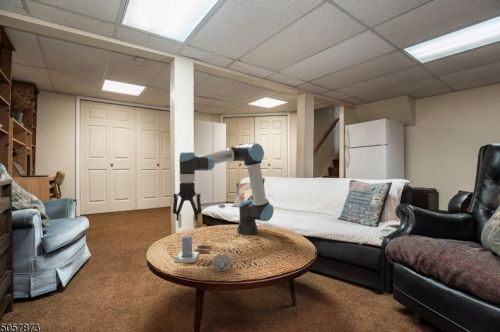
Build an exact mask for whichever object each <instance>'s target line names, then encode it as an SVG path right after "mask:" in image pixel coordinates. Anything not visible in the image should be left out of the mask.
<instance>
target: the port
mask: <svg viewBox="0 0 500 332" xmlns="http://www.w3.org/2000/svg"><path fill="white" fill-rule="evenodd" d="M199 256H200V253H199V252H194V251H192V257H182V251H180V252H179V253H178V254H177V256H175V257H174V259H173V261H174V263H196V261H197V259H198V257H199Z"/></svg>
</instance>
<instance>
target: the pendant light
mask: <svg viewBox="0 0 500 332" xmlns="http://www.w3.org/2000/svg"><path fill="white" fill-rule="evenodd" d="M217 207H218V208H220V209H224V208H226V207H227V206H226V205H225V204H218V206H217ZM232 263H233V261H232V258H231V257H230V256H229V255H228V254H225V253H224V254H223V253H221V254H217V255H215V256H214V257H213V258H212V259H211V266H212V268H213V269H214V270H216V271H218V272H221V271H227V270H229V269H230V267H232Z"/></svg>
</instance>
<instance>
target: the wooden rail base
mask: <svg viewBox="0 0 500 332" xmlns="http://www.w3.org/2000/svg"><path fill="white" fill-rule="evenodd" d="M211 251H212V244H197V245H196V248H194V251H193V252H199V254H204V255H206V254H208V255H209V254H210V253H211Z"/></svg>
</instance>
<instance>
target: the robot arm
mask: <svg viewBox="0 0 500 332" xmlns="http://www.w3.org/2000/svg"><path fill="white" fill-rule="evenodd" d="M264 157H265V151H264V148H263V147H262V145H261V144H259V143H257V142H251V143H243V144H242V143H240V144H236V145H234V146H233V145H232V146H230V147H226V148H225V149H223V150H218V151H212V152H208V153H203V154H198V155H196V153H195V152H193V151H192V152H191V151H182V152H180V153H179V162H178V163H179V182H180V183H179V192H178V193H173V195H172V196H173V206H172V214H174V215H176V221H177V223H178V224H177V226H178V227H177V228H178V229H180V228H182V213H181V211H182V208H183V205H184V202H186V201H189V203H190V205H191V207H192V210H193V215H192V228H193V229H194V228H196V227H197V221H198V217H199V215H200V214H201V213H202V203H201V196H202V195H201V193H197V192H196V189H195V186H196V185H195V181H196V180H195V179H196V178H195V175H196V173H195V171H207V172H209V171H212V170H213V169H214V168H215V165H216V164H220V163H225V162H230V163H231V162H243V164H244V166H246V167H247V171H248V178H249V182H250V188H251V193H252V198H253V199H248V200H242V201H240V202H239V205H238V206H239V207H238V208H239V212H238V213H239V222H238V224H237V225H238V226H237V228H236V229H237V230H236V232H237V234H239V235H244V236H245V235H246V236H247V235H250V236H251V235H255V234H258V233H259V229H258V225H257V221H261V222H269V221H270V220H271V219H272V218H273V216H274V212H275V211H274V210H275V209H274V207H273V205H272V204H270V202H269V199H268V198H267V197H266V191H265V185H264V180H263V173H262V169H261V164H262V162H263V160H264ZM179 197H180V201H179V202H178V199H179ZM194 197H195V198H196V204H195V200H194ZM178 203H179V205H178ZM256 220H257V221H256Z"/></svg>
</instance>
